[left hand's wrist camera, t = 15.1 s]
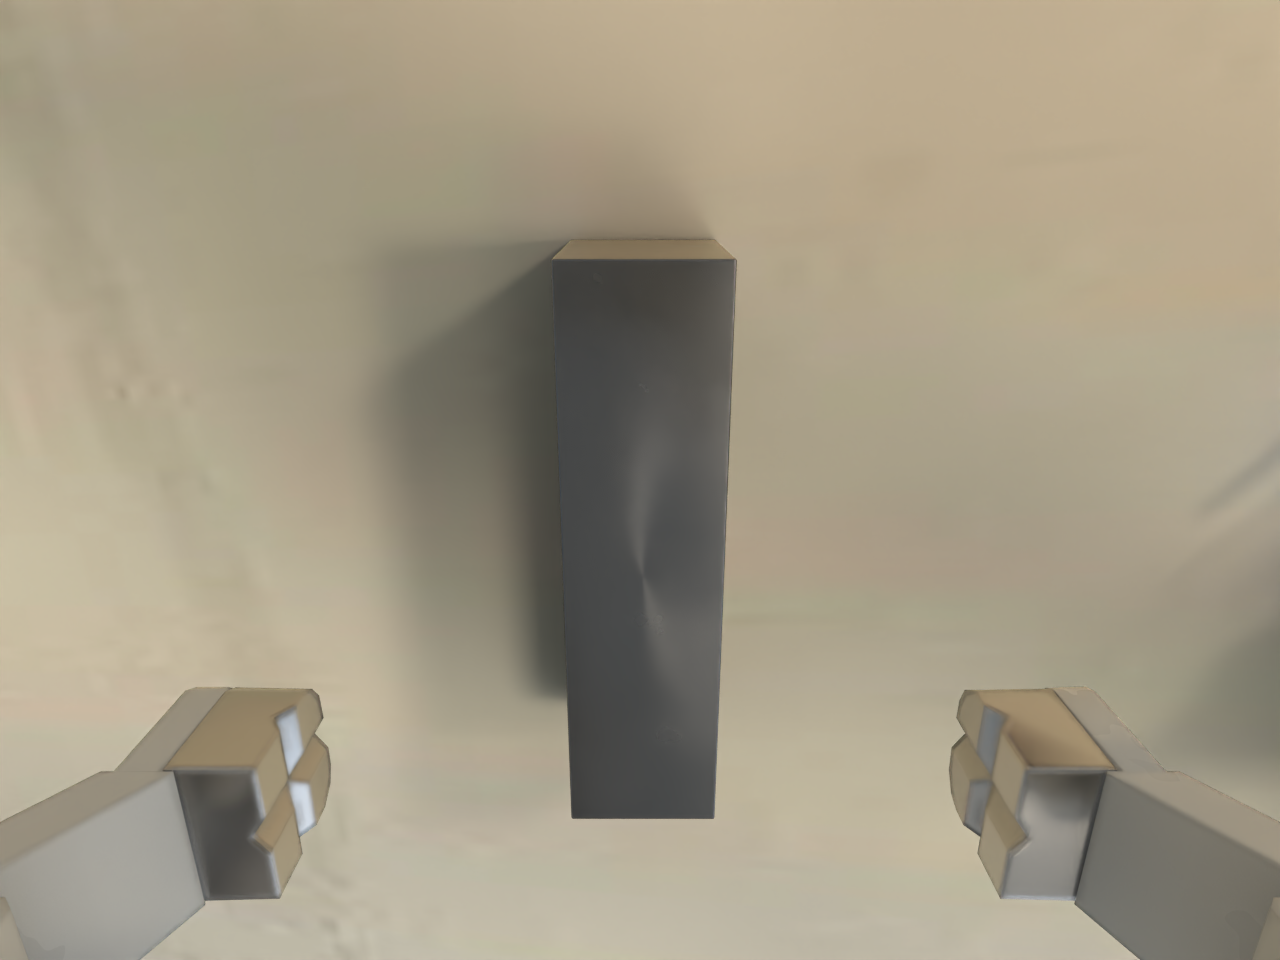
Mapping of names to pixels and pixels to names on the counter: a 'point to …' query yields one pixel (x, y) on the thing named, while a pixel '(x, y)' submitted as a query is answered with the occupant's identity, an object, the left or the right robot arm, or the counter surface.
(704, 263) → the bar
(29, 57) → the counter surface
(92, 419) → the counter surface
